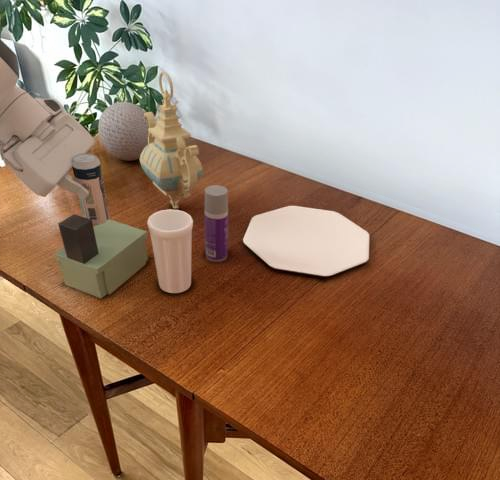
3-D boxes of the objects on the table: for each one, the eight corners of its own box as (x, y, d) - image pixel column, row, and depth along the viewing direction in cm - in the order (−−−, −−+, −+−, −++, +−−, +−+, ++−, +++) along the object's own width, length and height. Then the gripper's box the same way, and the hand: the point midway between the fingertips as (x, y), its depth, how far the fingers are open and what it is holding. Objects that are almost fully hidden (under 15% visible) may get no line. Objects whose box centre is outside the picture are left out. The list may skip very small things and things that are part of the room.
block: (66, 257, 84) (57, 223, 80) (82, 247, 87) (74, 213, 82) (84, 264, 83) (76, 229, 78) (98, 253, 86) (91, 219, 81)
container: (229, 260, 98) (231, 194, 88) (208, 263, 97) (207, 196, 87) (224, 248, 102) (225, 183, 91) (203, 251, 100) (201, 185, 90)
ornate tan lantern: (219, 224, 109) (219, 85, 88) (175, 237, 104) (164, 92, 84) (174, 183, 123) (165, 55, 103) (133, 193, 118) (115, 60, 98)
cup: (197, 296, 89) (194, 231, 79) (154, 299, 88) (146, 233, 78) (194, 271, 95) (191, 208, 85) (154, 274, 94) (146, 209, 84)
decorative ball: (167, 159, 134) (162, 104, 124) (123, 174, 126) (115, 116, 116) (135, 144, 141) (129, 91, 131) (92, 157, 133) (82, 101, 123)
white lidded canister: (115, 220, 88) (104, 158, 80) (93, 229, 85) (80, 165, 77) (100, 211, 90) (88, 150, 82) (79, 220, 88) (64, 157, 79)
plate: (258, 205, 117) (259, 200, 116) (368, 221, 113) (370, 216, 112) (233, 267, 97) (233, 261, 96) (366, 288, 93) (368, 282, 92)
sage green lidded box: (62, 283, 90) (53, 253, 85) (112, 247, 100) (106, 218, 95) (103, 300, 87) (97, 269, 82) (150, 260, 97) (147, 231, 92)
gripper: (3, 136, 68) (81, 204, 74) (60, 96, 83) (121, 155, 89) (-16, 164, 71) (61, 226, 77) (42, 120, 86) (102, 175, 92)
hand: (93, 187), depth 83 cm, fingers closed on white lidded canister, 5 cm apart
